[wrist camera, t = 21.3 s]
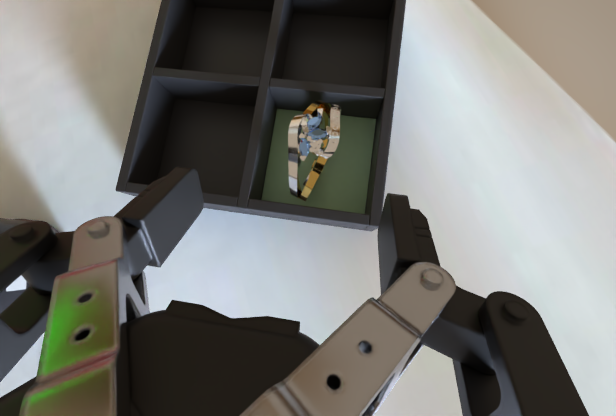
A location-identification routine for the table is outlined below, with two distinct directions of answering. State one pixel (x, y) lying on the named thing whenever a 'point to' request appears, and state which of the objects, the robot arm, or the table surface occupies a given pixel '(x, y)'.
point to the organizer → (268, 103)
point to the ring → (312, 144)
